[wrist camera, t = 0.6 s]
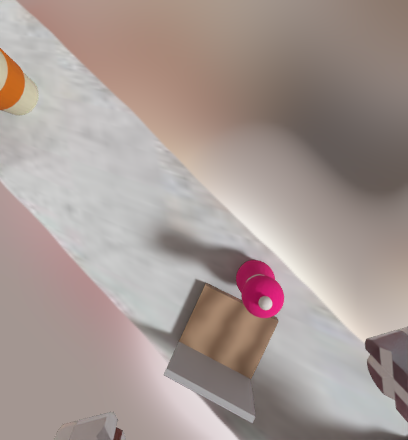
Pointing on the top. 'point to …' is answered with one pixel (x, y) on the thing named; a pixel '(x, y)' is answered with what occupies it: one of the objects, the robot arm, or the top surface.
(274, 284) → the pepper mill
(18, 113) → the reusable coffee cup
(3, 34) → the top surface
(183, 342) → the bookend
